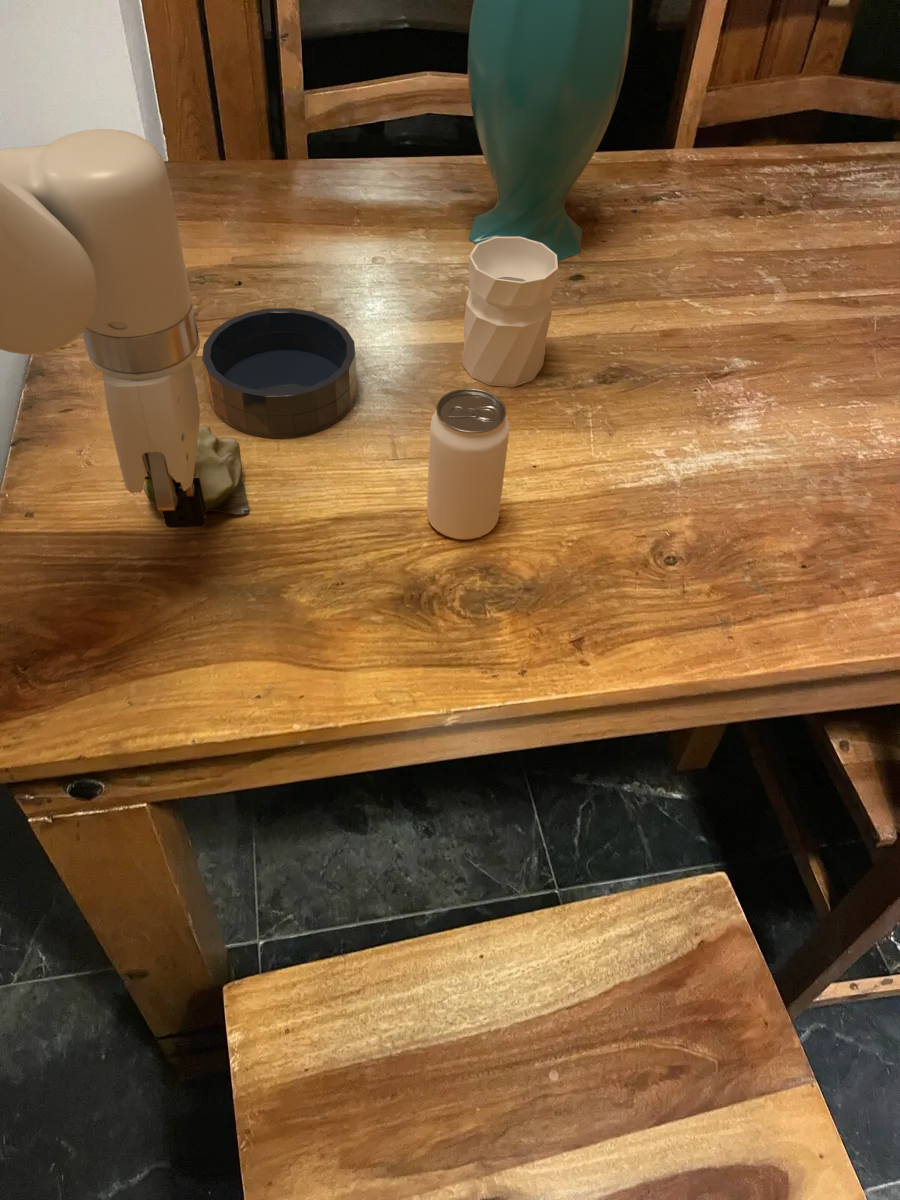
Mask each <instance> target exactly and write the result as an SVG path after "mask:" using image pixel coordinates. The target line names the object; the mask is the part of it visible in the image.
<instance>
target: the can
mask: <svg viewBox="0 0 900 1200" xmlns="http://www.w3.org/2000/svg"><path fill="white" fill-rule="evenodd" d="M431 417H432V418H431V421H430V428H429V431H430V432H429V448H428V450H429V451H428V467H427V469H428V470H427V471H428V472H427V493H426V494H427V495H426V516H427V520H428V522H429V524H430V525H431V526H432V528H434V529H435V530H436V531H437V532H438V533H440V534H441V535H442V536H445V537H447V538H449V539H453V540H459V541H467V540H468V541H470V540H475V539H478V538H481V537H483V536H485V535H487V534H489V533H490V532H491V531H492V530H493V529H494V528H495V527H496V525H497V523H498V522H499V516H500V509H501V501H502V494H503V488H504V487H503V485H504V478H505V471H506V470H505V469H506V461H507V453H508V445H509V444H508V443H509V437H510V435H509V434H510V424H509V420H508V418H507V408H506V406H505V404H504V403H503V401H502V399H500V398H499V397H498V396H496V395H494V394H493V393H491V392H489V391H487V390H482V389H479V388H459V389H455V390H451V391H450V392H447V393H445V394H444V395H443V396H442V397H441V398H440V399H439V400H438V402H437V404H436V409H435V412H434V413H433V415H432V416H431Z"/></svg>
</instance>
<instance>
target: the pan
mask: <svg viewBox="0 0 900 1200" xmlns="http://www.w3.org/2000/svg"><path fill="white" fill-rule="evenodd" d="M355 345H356V344H355V341H354V339H353V337H352V336H351V334H350V333H349V331H348V329H347V328H345V327H344V326H343V325H341V324H340V323H339V322H337V321H336V320H334V319H333V318H331V317H329V316H325V315H323V314H321V313H318V312H315V311H314V310H313V311H312V310H307V309H299V308H294V307H292V308H291V307H284V308H283V307H279V308H278V307H274V308H271V307H270V308H262V309H257V310H253V311H248V312H245V313H242V314H240V315H238V316H235V317H232V318H230V319H227V320H226V321H225V322H222V323H221V324H220V325H219V326H218V327H216V328H215V329H213V330H212V332H211V333H210V335H208V337H207V339H206V340H205V342H204V343H203V347H202V356H201V357H202V358H201V361H202V366H203V371H204V377H205V383H206V389H207V393H208V398H209V401H210V405H211V407H212V409H213V412H215V414H216V415H217V416H218V418H219V419H220V420H222V421H223V422H224V423H225V424H227V425H228V426H229V427H231V428H233V429H235V430H237V431H239V432H242V433H244V434H247V435H250V436H255V437H259V438H260V437H261V438H265V439H266V438H267V439H292V438H298V437H299V438H300V437H306V436H309V435H313V434H316V433H318V432H322V431H324V430H326V429H328V428H331V427H332V426H333V425H335V424H337V423H338V422H340V420H342V419H344V417H345V416H346V415H347V414H348V413H349V411H351V409H352V407H353V405H354V403H355V401H356V396H357V366H356V365H357V364H356V347H355Z"/></svg>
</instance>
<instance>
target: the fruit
mask: <svg viewBox="0 0 900 1200" xmlns="http://www.w3.org/2000/svg"><path fill="white" fill-rule="evenodd" d="M241 455H242V454H241V445H240V443H239V442H238V441H237V440H236V439H234V438H231V437H227V438H226V437H225V438H220V439H219V438H218V437H217V436H216V435H215V434H213V432H212V430H211V427H210V426H209V425H208V424H207V425H206V424H204V426H199V434H198V444H197V453H196V461H195V462H196V468H197V475H196V477H193V478H199V479H200V483H201V488H202V492H203V497H204V501H205V506H206V512H211V511H216V512H221V513H226V514H231V515H237V516H242V515H246V514H249V513H250V505H249V502H248V498H247V495H246V489H245V485H244V480H243V467H242V456H241ZM143 492H144V494H145V496H146V498H147V499H148V500H149V502H150V503H151V504H153V505H155V506H156V507H157V503H156V498H155V493H154V488H153V482H152V479H151V476H150V473H149V472H147V473H146V477H145V481H144V484H143Z"/></svg>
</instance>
